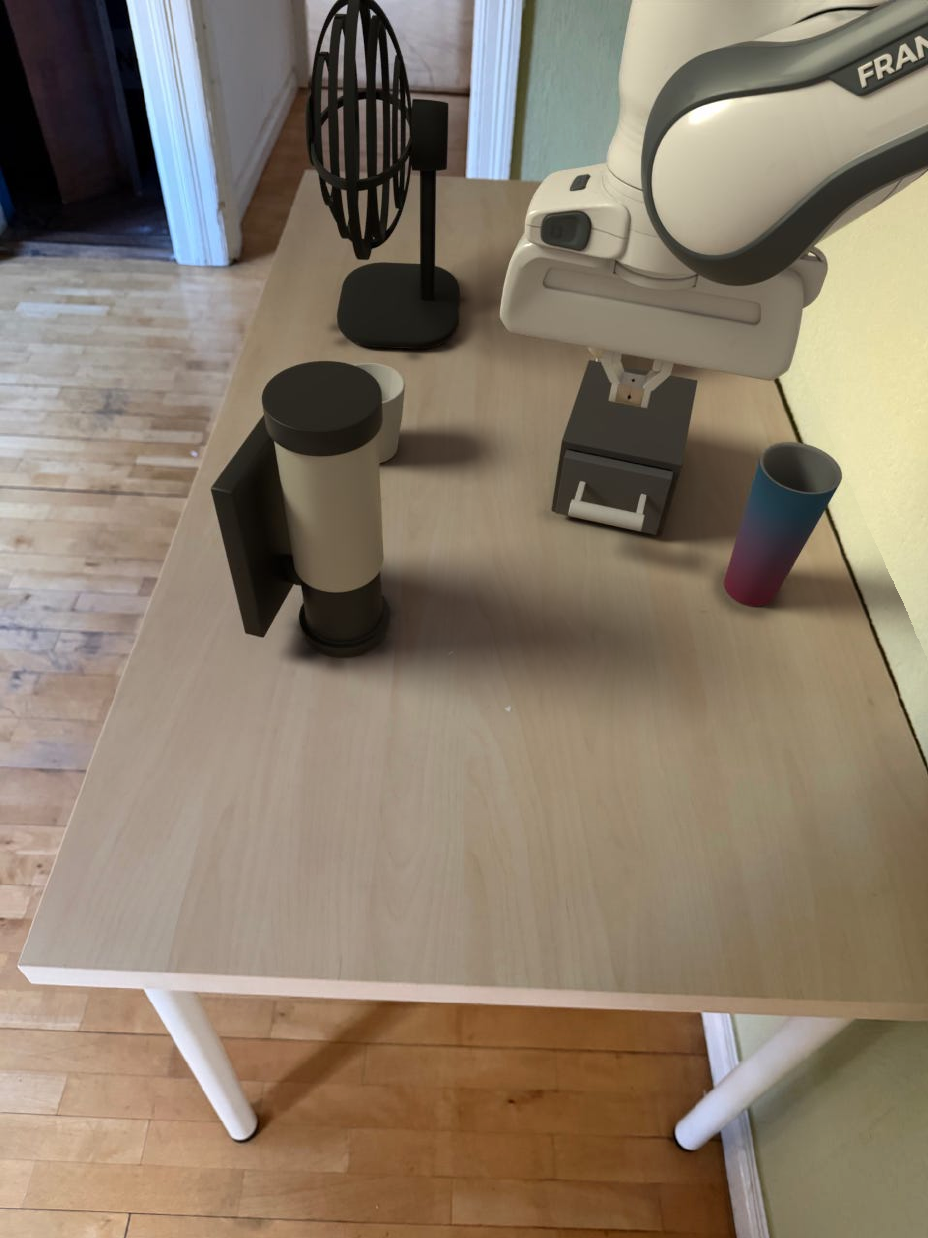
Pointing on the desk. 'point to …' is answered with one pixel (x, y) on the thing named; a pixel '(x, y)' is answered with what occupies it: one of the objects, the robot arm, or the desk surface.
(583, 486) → the drawer
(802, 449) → the cup
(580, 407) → the cabinet
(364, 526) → the light fixture
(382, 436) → the cup
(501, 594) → the desk surface
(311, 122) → the desk fan
